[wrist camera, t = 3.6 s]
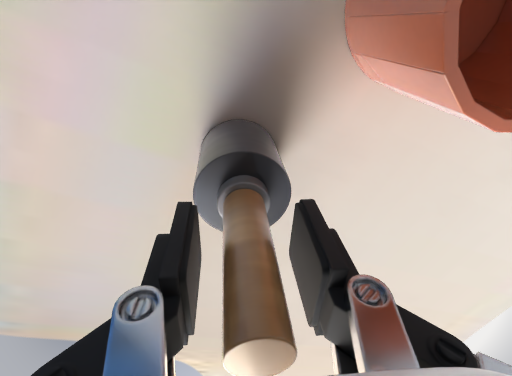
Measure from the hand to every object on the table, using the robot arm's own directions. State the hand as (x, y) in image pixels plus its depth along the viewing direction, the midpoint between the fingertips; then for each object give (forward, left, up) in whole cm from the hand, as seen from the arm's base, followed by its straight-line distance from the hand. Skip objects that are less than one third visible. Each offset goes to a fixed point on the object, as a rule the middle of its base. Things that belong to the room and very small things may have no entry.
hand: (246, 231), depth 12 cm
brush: (0, 0, -8) cm, 8 cm away
